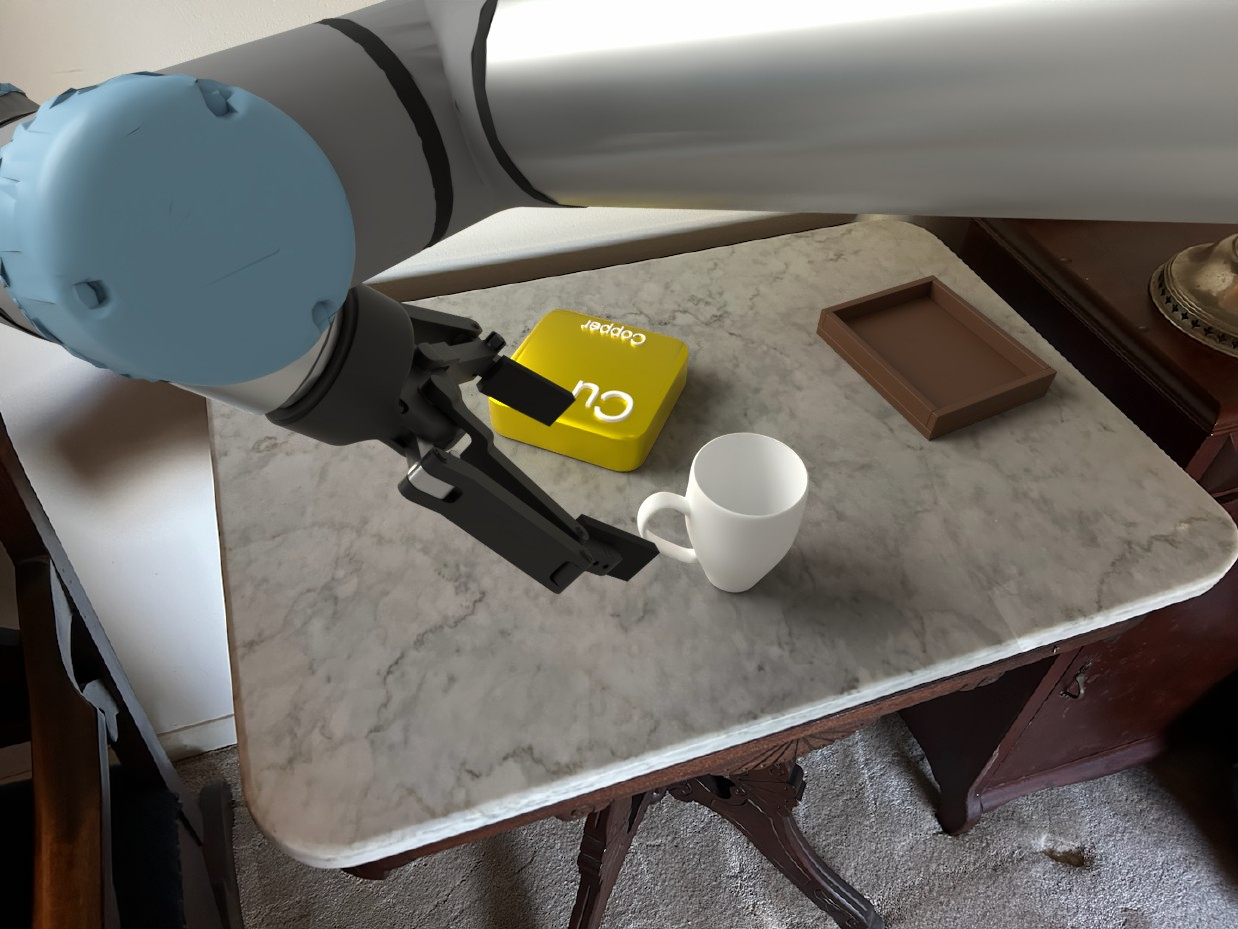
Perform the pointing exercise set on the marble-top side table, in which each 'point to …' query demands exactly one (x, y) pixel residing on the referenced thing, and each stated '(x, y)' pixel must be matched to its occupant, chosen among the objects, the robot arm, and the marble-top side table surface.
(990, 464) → the marble-top side table surface
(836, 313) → the tray
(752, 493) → the mug
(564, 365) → the element tile
